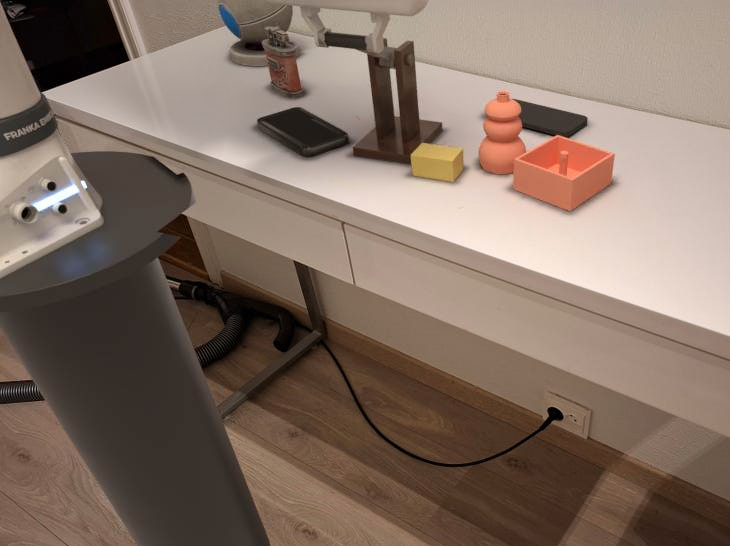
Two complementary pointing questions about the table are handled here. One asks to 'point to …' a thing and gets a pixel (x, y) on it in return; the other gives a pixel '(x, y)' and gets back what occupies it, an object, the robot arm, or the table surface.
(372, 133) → the brown wooden frame
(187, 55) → the table surface
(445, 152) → the butter block
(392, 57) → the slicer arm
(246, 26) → the webcam
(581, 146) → the pottery
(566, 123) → the phone
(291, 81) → the lighter
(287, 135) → the phone
